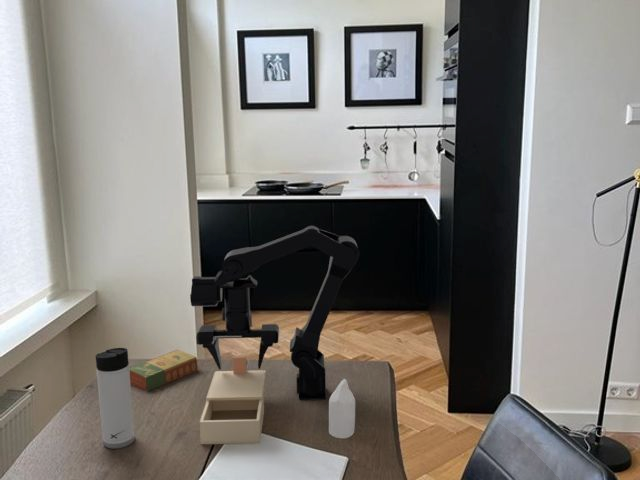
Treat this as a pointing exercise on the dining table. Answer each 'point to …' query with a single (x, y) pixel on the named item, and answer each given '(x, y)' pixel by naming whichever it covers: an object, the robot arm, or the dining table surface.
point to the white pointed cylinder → (342, 412)
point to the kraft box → (232, 421)
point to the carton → (162, 370)
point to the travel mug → (115, 398)
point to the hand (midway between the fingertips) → (239, 368)
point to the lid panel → (237, 382)
